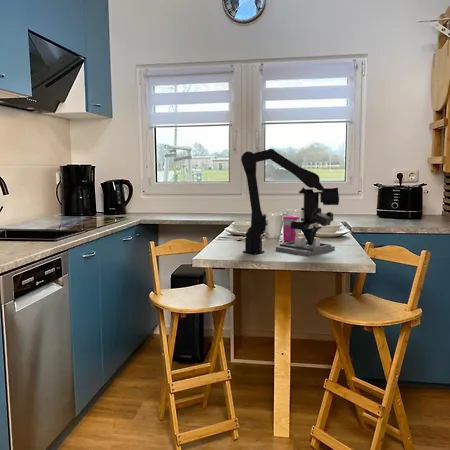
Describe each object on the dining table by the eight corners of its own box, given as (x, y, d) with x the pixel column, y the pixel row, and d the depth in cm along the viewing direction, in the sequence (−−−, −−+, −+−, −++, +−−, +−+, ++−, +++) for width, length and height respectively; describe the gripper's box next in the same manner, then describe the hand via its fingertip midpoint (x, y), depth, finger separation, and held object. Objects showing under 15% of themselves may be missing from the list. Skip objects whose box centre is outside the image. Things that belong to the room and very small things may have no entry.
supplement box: (289, 240, 209) (289, 215, 207) (300, 241, 205) (301, 216, 204) (282, 241, 204) (282, 216, 203) (294, 243, 201) (294, 217, 199)
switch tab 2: (301, 248, 180) (301, 238, 180) (294, 247, 182) (295, 237, 182) (305, 247, 182) (305, 237, 182) (299, 246, 185) (299, 236, 184)
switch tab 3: (315, 249, 179) (315, 238, 178) (309, 248, 181) (309, 237, 180) (319, 248, 181) (320, 237, 180) (313, 247, 183) (313, 236, 182)
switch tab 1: (301, 244, 189) (301, 234, 188) (295, 243, 191) (295, 233, 190) (305, 243, 191) (305, 233, 190) (299, 242, 193) (299, 233, 192)
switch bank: (308, 256, 173) (308, 249, 173) (275, 250, 185) (275, 244, 184) (334, 249, 186) (334, 243, 185) (302, 244, 197) (302, 239, 197)
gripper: (314, 208, 164) (313, 251, 166) (342, 204, 177) (341, 244, 179) (289, 206, 172) (289, 247, 174) (318, 203, 185) (317, 241, 187)
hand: (310, 245), depth 178 cm, fingers closed
